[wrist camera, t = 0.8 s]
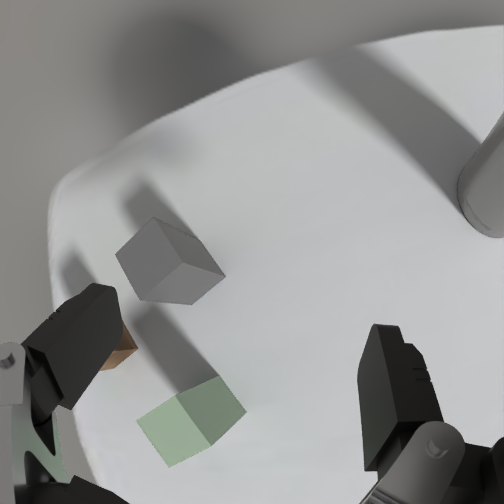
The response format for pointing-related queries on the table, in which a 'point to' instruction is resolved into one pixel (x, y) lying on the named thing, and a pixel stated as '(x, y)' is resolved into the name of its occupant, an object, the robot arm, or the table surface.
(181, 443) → the sage block
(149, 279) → the charcoal block
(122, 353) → the walnut block
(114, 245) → the table surface
